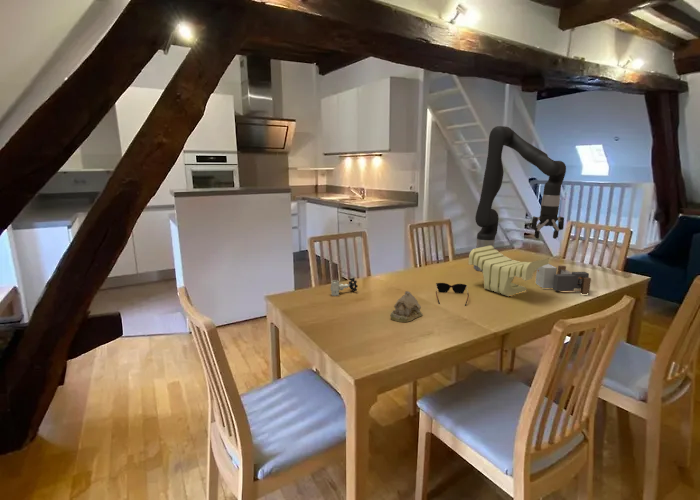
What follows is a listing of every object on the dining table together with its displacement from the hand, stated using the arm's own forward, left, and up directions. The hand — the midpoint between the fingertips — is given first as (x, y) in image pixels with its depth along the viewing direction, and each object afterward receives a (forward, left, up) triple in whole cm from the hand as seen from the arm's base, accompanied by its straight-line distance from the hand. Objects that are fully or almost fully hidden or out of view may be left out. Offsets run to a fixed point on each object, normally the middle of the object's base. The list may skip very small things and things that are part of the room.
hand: (545, 238), depth 189 cm
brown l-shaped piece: (+8, -8, -22) cm, 25 cm away
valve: (-97, -10, -23) cm, 100 cm away
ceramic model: (-73, -37, -23) cm, 85 cm away
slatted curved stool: (-22, -10, -23) cm, 33 cm away
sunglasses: (-50, -19, -23) cm, 58 cm away
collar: (+7, -13, -21) cm, 26 cm away
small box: (-1, -6, -23) cm, 23 cm away
